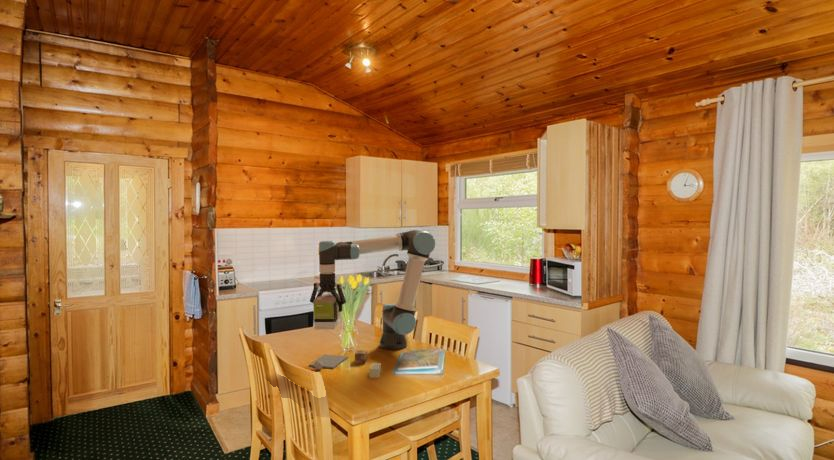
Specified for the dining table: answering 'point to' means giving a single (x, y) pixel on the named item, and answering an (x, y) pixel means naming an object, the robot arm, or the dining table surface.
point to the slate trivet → (330, 361)
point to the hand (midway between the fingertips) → (328, 317)
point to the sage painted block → (375, 370)
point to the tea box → (325, 312)
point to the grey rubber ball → (318, 365)
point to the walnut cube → (360, 357)
